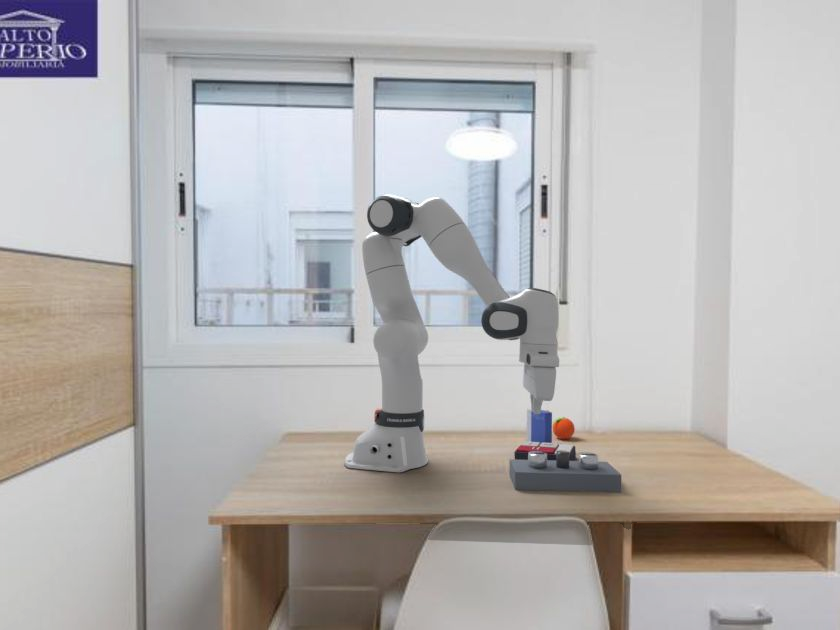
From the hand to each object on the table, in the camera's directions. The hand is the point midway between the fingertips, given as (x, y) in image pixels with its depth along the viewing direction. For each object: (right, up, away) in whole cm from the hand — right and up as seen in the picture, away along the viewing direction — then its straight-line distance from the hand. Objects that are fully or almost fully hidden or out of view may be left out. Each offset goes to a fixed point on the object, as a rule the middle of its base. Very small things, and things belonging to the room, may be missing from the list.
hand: (535, 413), depth 117 cm
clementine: (+19, -17, +42) cm, 49 cm away
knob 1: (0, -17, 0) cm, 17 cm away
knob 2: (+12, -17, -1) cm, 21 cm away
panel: (+6, -17, -1) cm, 18 cm away
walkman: (+8, -17, +29) cm, 35 cm away
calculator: (+7, -18, +19) cm, 27 cm away
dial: (+6, -13, -1) cm, 14 cm away
